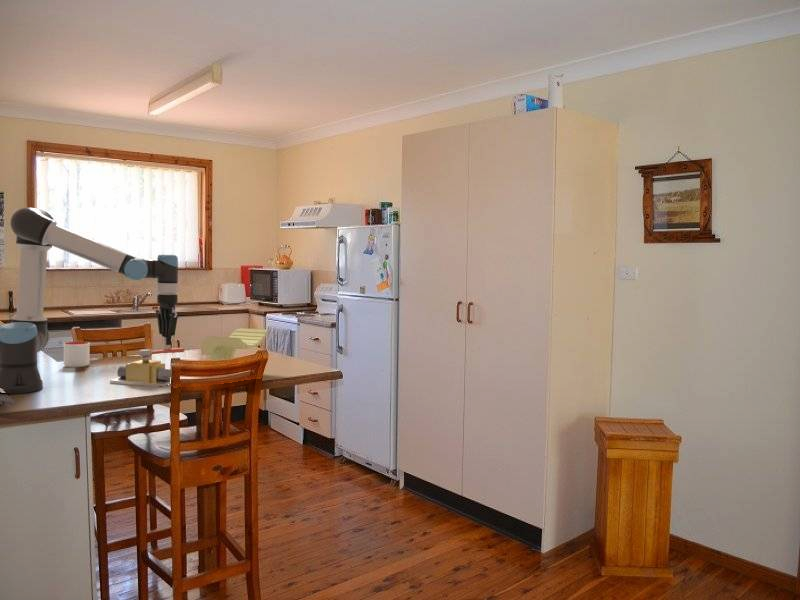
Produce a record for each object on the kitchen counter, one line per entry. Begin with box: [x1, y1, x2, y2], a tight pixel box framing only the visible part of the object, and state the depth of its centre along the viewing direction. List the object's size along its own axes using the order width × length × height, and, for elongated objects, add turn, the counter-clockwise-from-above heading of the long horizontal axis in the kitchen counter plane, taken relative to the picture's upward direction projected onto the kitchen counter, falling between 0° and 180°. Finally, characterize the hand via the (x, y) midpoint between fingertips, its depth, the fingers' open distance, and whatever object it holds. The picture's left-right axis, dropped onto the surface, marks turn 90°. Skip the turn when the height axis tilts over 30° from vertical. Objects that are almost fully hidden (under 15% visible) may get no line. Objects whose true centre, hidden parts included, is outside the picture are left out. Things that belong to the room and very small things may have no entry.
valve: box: [109, 356, 172, 388], centre depth 241 cm, size 22×12×10 cm, turn 80°
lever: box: [139, 347, 185, 357], centre depth 246 cm, size 17×4×2 cm, turn 135°
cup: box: [63, 341, 91, 368], centre depth 270 cm, size 10×10×10 cm
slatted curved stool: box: [200, 327, 269, 361], centre depth 262 cm, size 30×16×18 cm, turn 171°
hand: (166, 352), depth 249 cm, fingers closed
